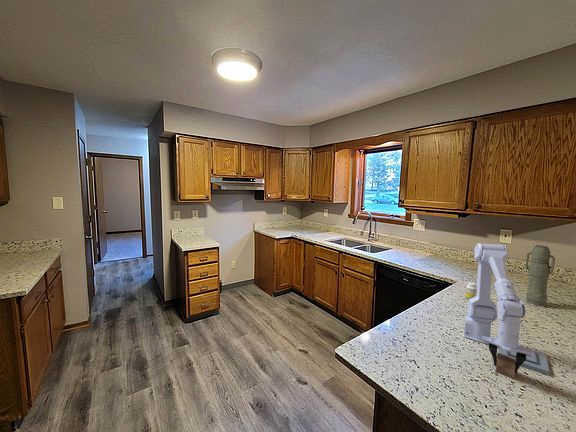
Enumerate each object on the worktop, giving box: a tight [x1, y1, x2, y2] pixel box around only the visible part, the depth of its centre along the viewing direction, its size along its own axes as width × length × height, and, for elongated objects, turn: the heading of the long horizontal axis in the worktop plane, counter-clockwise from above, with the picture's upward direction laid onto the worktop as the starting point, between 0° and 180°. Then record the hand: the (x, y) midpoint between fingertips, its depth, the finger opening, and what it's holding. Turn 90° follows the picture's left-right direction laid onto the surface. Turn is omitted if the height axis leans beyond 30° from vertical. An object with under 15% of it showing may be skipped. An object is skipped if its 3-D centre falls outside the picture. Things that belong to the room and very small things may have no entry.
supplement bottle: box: [465, 281, 477, 301], centre depth 158 cm, size 6×6×10 cm
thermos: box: [525, 244, 556, 307], centre depth 151 cm, size 9×12×35 cm
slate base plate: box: [498, 347, 550, 377], centre depth 101 cm, size 14×14×2 cm
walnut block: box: [495, 352, 516, 380], centre depth 93 cm, size 5×5×5 cm
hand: (505, 368), depth 93 cm, fingers closed on walnut block, 5 cm apart
